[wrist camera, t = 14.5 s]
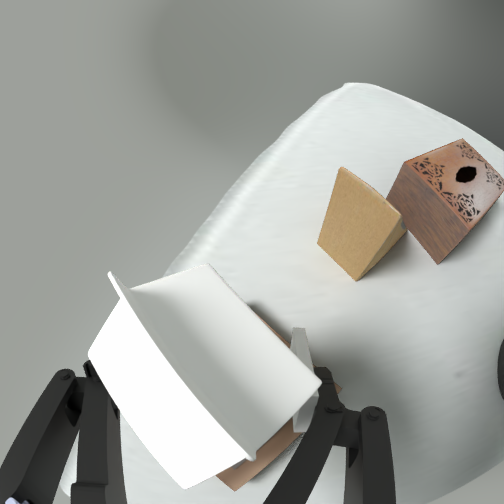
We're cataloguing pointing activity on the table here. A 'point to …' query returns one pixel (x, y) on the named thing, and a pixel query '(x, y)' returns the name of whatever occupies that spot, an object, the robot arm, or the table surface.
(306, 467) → the robot arm
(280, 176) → the table surface
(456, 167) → the tissue box cover
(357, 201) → the sandwich container
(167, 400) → the milk
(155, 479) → the table surface
